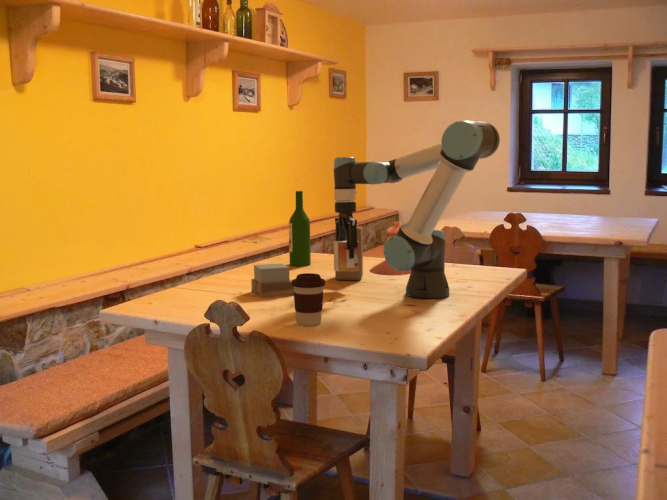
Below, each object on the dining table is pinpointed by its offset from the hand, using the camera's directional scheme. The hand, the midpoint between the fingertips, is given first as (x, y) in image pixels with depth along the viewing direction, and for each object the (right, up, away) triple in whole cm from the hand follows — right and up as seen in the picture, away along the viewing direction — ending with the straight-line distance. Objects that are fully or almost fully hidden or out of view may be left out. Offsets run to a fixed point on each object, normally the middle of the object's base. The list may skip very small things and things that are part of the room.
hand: (346, 266), depth 261 cm
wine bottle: (-19, -2, +54) cm, 57 cm away
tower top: (-26, -5, -6) cm, 27 cm away
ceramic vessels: (+21, -3, +46) cm, 51 cm away
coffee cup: (-12, -17, -39) cm, 44 cm away
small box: (0, -2, 0) cm, 2 cm away
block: (+1, -5, +25) cm, 25 cm away
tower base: (-26, -10, -5) cm, 28 cm away
